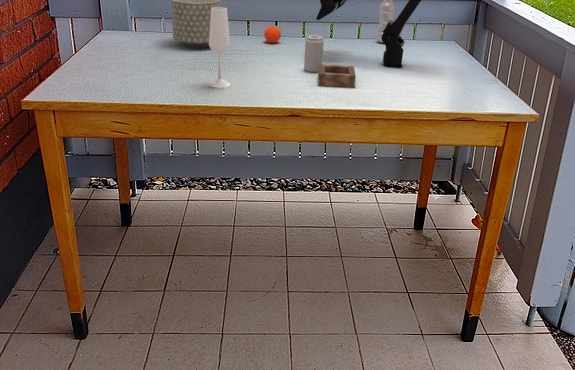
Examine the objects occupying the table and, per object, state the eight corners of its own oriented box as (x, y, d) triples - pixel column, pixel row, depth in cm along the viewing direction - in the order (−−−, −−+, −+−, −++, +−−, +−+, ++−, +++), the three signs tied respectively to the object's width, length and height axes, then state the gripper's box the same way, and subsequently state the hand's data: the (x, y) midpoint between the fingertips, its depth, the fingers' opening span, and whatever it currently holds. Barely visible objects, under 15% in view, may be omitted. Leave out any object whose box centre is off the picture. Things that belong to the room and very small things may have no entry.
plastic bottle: (392, 44, 245) (398, -4, 236) (376, 44, 245) (381, -5, 236) (390, 41, 251) (395, -7, 241) (374, 40, 251) (379, -7, 241)
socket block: (352, 77, 199) (353, 66, 198) (354, 87, 189) (355, 75, 187) (318, 75, 200) (319, 64, 198) (318, 85, 189) (319, 74, 187)
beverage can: (322, 68, 208) (324, 35, 202) (321, 73, 202) (323, 39, 197) (304, 67, 208) (306, 34, 203) (303, 72, 203) (305, 38, 197)
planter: (196, 37, 243) (195, -8, 235) (230, 45, 233) (230, -1, 225) (163, 45, 229) (160, -2, 221) (198, 53, 220) (196, 4, 211)
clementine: (275, 39, 245) (275, 22, 242) (285, 42, 240) (286, 25, 237) (260, 42, 240) (261, 24, 237) (271, 45, 236) (272, 28, 232)
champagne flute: (211, 80, 189) (209, 6, 178) (231, 81, 189) (231, 7, 178) (208, 86, 183) (206, 10, 172) (229, 87, 183) (228, 11, 172)
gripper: (336, -34, 216) (311, -1, 225) (322, -28, 201) (296, 7, 209) (358, -14, 217) (333, 18, 225) (346, -7, 201) (319, 27, 209)
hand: (320, 17), depth 217 cm, fingers open, 9 cm apart
